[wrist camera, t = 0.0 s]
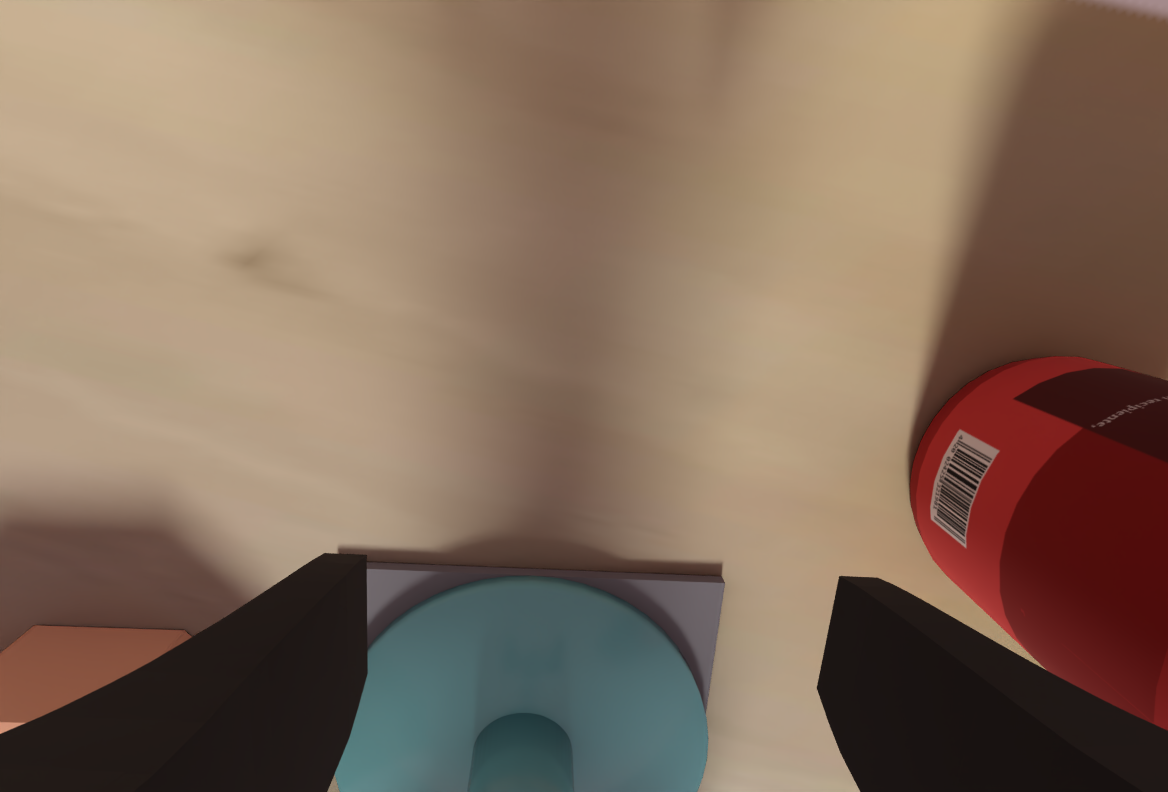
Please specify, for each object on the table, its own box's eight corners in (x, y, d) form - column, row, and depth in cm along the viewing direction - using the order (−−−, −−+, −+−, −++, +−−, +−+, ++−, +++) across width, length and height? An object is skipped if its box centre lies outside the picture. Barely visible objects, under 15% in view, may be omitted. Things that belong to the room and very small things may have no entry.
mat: (679, 867, 25) (681, 877, 24) (346, 863, 24) (342, 874, 24) (721, 576, 22) (724, 583, 21) (337, 560, 21) (334, 567, 20)
